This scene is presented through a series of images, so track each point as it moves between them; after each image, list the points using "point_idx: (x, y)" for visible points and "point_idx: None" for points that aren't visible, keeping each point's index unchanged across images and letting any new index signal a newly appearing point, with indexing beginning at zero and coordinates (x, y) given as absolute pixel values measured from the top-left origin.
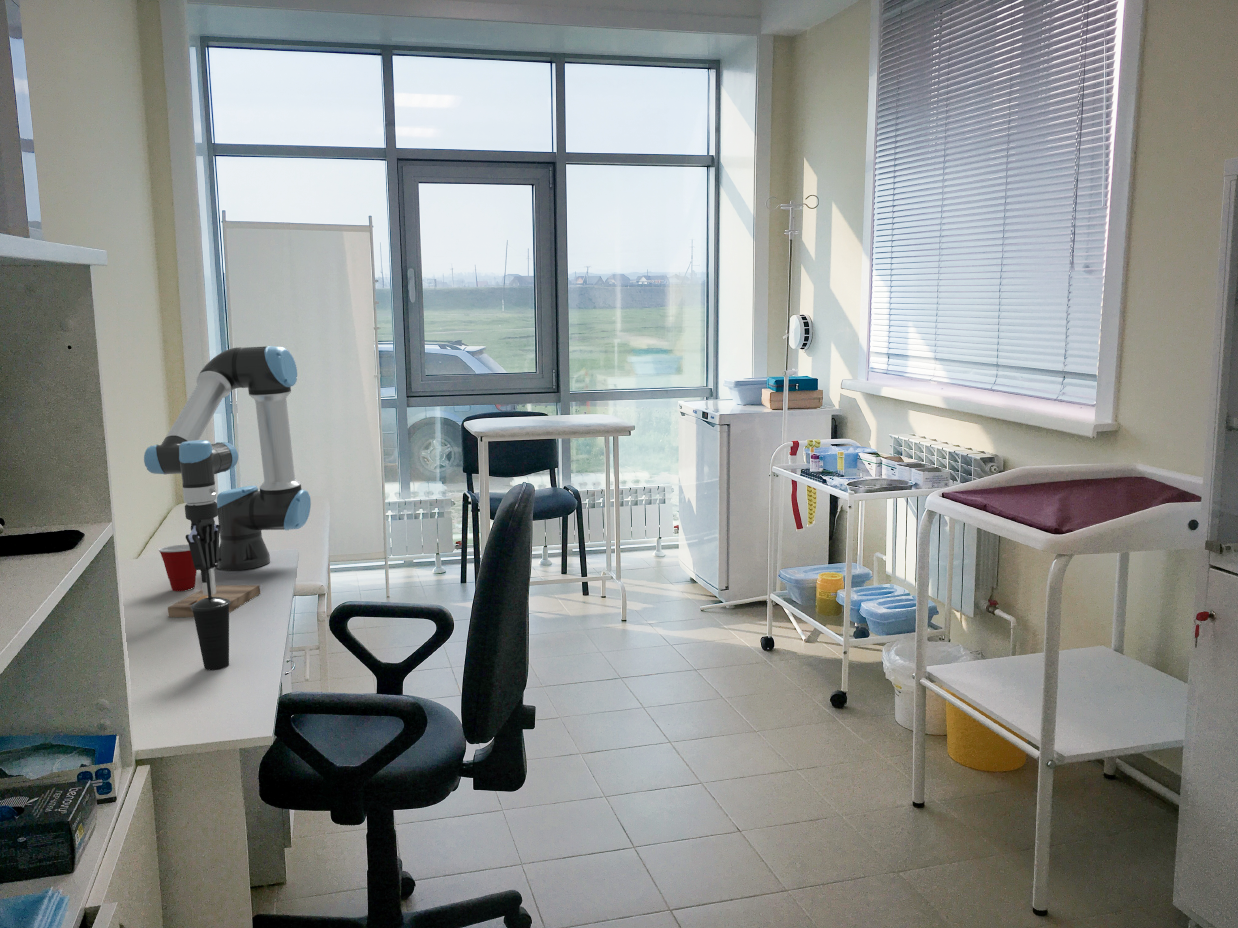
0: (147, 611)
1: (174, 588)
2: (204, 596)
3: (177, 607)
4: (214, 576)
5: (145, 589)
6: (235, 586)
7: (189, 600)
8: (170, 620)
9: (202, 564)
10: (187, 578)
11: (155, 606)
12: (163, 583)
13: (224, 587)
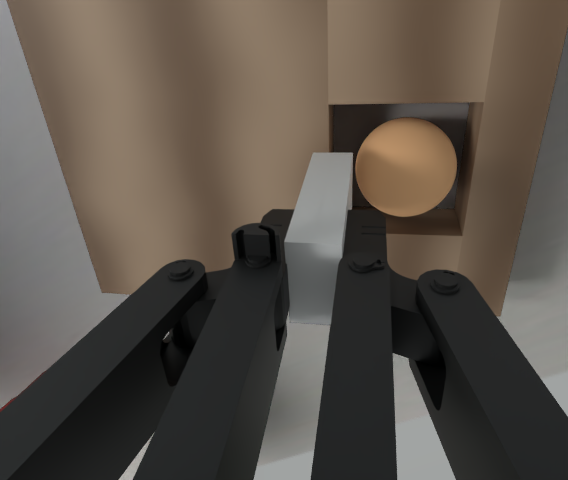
0: None
1: None
2: (416, 181)
3: (510, 269)
4: (298, 204)
5: (128, 477)
6: (81, 150)
7: None
8: (553, 252)
9: (490, 314)
10: None
11: (313, 390)
12: None
13: (114, 203)
